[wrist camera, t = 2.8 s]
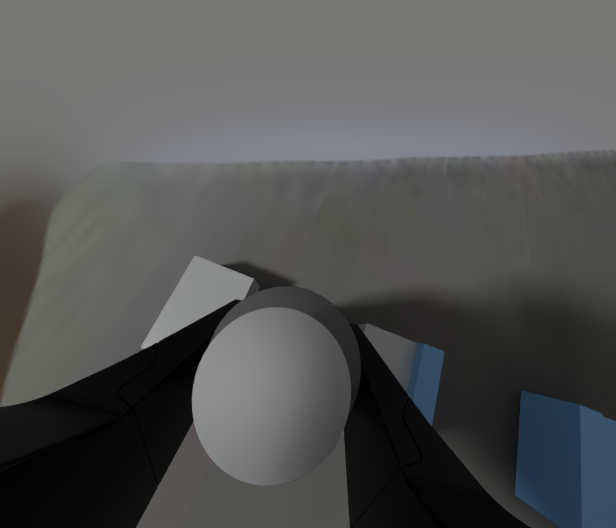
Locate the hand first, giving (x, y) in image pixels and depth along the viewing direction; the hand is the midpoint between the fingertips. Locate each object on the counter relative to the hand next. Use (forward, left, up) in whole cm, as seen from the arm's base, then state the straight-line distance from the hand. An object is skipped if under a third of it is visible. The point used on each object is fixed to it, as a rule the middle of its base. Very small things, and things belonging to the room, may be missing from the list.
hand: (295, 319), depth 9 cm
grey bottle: (-1, -1, -7) cm, 7 cm away
